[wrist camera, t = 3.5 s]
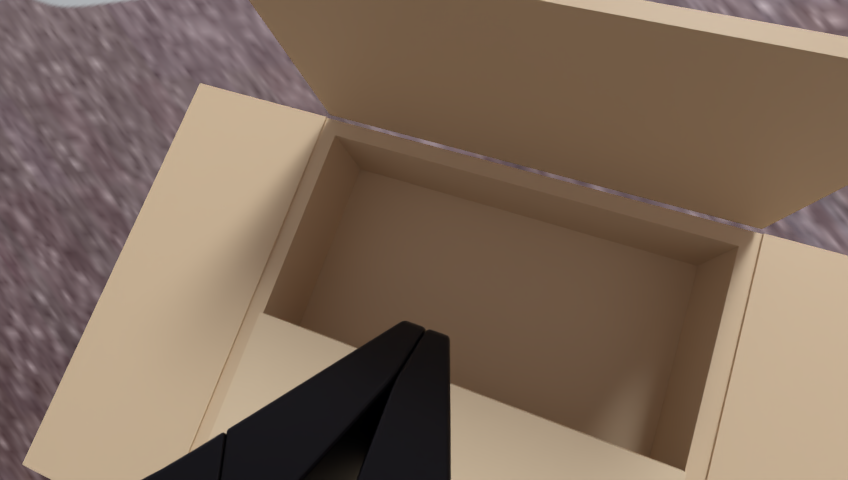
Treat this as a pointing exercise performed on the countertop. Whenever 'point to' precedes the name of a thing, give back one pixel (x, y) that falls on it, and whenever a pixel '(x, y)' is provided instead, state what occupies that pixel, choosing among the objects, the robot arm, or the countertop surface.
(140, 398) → the carton
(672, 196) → the flap
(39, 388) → the countertop surface
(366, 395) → the robot arm
